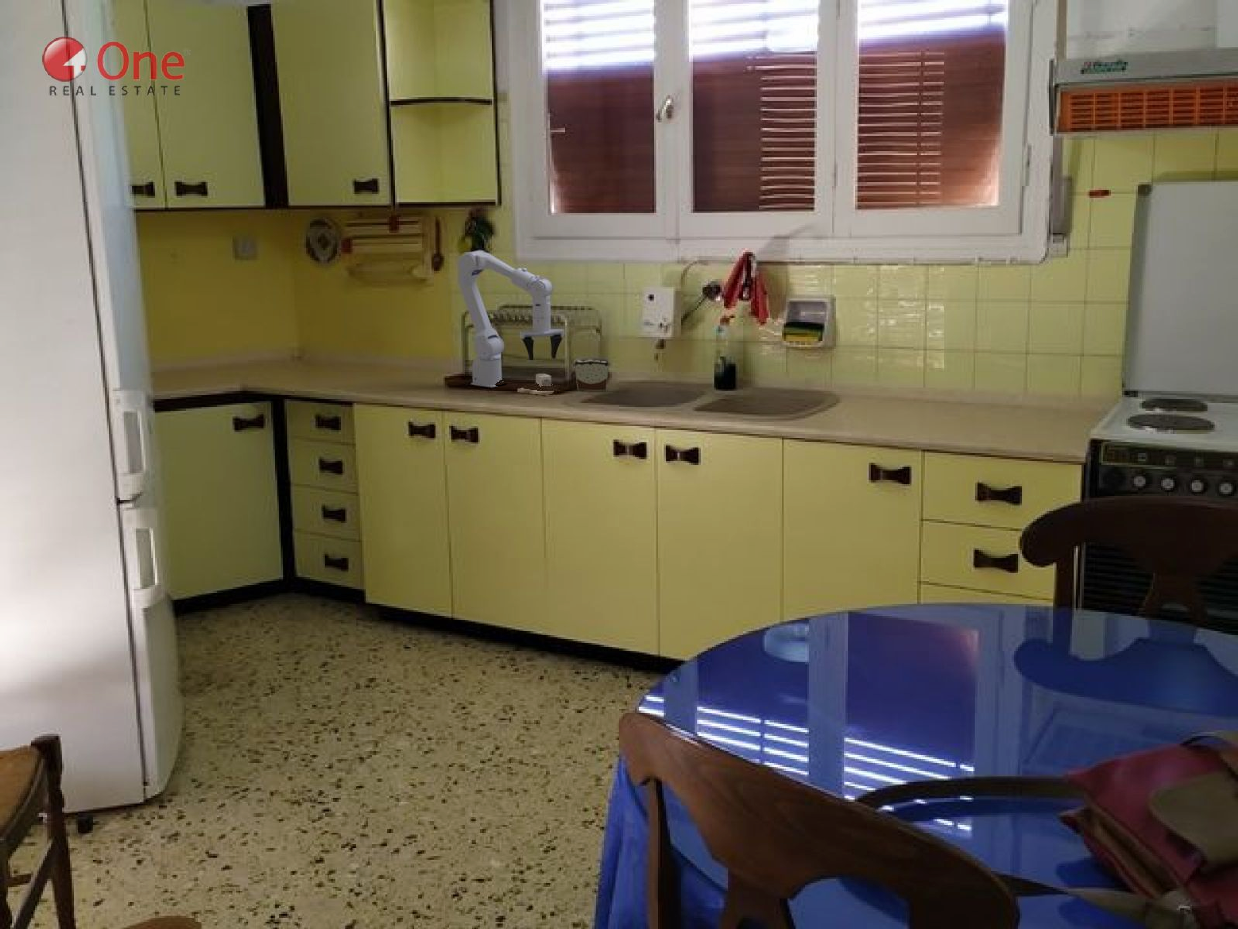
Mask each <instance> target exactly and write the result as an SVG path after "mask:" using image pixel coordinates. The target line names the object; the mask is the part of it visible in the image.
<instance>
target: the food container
mask: <svg viewBox="0 0 1238 929" xmlns="http://www.w3.org/2000/svg"><path fill="white" fill-rule="evenodd" d="M572 367H574V369H575V370H574V372H575V378H576V386H577V387H576V388H577V391H578V390H585V392H586V391H591V392H599V391H600V392H607V389H608V388H607V387H608V379H609V378H608V377H609V367H610V368H611V362H610V360H609V359H608V358H605V357H599V356H598V357H595V356H593V357H592V356H587V357H586V356H585V357H580V358H579V357H578V358H575V359H574V360H573V363H572Z"/></svg>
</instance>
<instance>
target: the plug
mask: <svg viewBox="0 0 1238 929" xmlns="http://www.w3.org/2000/svg"><path fill="white" fill-rule="evenodd" d="M536 383H537V384H539V386H540V387H541V386H551V384H552V376H551V375H550V374H547V373H536V374H535V384H536Z"/></svg>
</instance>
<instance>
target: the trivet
mask: <svg viewBox="0 0 1238 929" xmlns="http://www.w3.org/2000/svg"><path fill="white" fill-rule="evenodd" d="M553 392H554V391H537V390H530V389H524V388H523V387H520V388H517V393H523V394H528V393H529V394H530V395H535V394H538V395H537V396H542V395H545V396H544V397H547V396H546V395H549V394H552V393H553ZM549 396H550V395H549Z"/></svg>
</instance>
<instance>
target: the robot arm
mask: <svg viewBox="0 0 1238 929" xmlns="http://www.w3.org/2000/svg"><path fill="white" fill-rule="evenodd" d="M457 260H458V261H457V262H456V264H457V268H458V272H457V273H458V274H457V282H458V286H459V289H460V291H461V294H462V297H463V300H464V303H465V306H466V308H467V312H468V313H469V317H470V319H471V322H472V325H473V327H474V331H475V335H474V338H473V341H474V345H475V346H474V349H475V350H474V351H475V354H476V355H477V357H476V358H474V360H473V362H472V365H471V369H472V382H471V383H470V385H473V386H479V387H486V388H495V387H497V386H496V385H495V384H496V383H497V382H499V381H500V380H503V378H502V376H503V375H502V353H503V352H504V349H505V343H504V341H503V339H502V338H501V337H500V336H499V334H498V331H497V330H496V329H495V328H494V327H492V324H491V322H490V319H489V316H488V312H487V310H486V307H485V305H484V304H485V303H484V301H483V299H482V296H481V293H480V291H479V287H478V284H477V282H476V281H478V278H479V277H480V274H481V273H482V272H484V271H485V270H491V271H494V272H496V273H497V274H500V275H502V276H504V277H507V278H508V279H510V281H511V284H512V285H514V286H516V287H518V288H520V289H521V290H524V291H525V292H527V293H529V295H530V297H531V298H532V330H524V331H519V338H520V339H521V341H523V344H524V346H525V348H526V351H527V355H528V359H529V360H530V361H534V343H535V340H534V339H533V338H544V337H546V338H547V337H549V338H550V347H551V348H550V351H551V352H550V356H551V358H552V359H555V360H556V356H557V353H558V349H559V346H560V345H561V342H562V340H563V336H565V330H564V329H562V328H559V329H558V328H557V329H555V328H554V329H553V328H552V327H551V326H552V324H551V323H552V322H551V319H552V317H551V313H552V312H551V294H552V293H553V292H554V287H553V283H552V282H551V281H550V279H548V278H546V277H545V278H540V275H538V274H537V275H535V274H533V273H531V272H529V271H528V269H527V268H525V267H523V268H522V267H519V268H513V267H512V266H510V265H509V264H508V263H505V262H504V261H502V260H500V259H499V258H497V257H495V256H493V255H492V254H491V253H490V252H489V253H488V252H486V251H485V250H483V249H482V250H481V249H479V250H474V251H469V252H468V251H467V252H463V253H462V254H461V255H460V256H459V258H458V259H457ZM551 328H552V329H551Z"/></svg>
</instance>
